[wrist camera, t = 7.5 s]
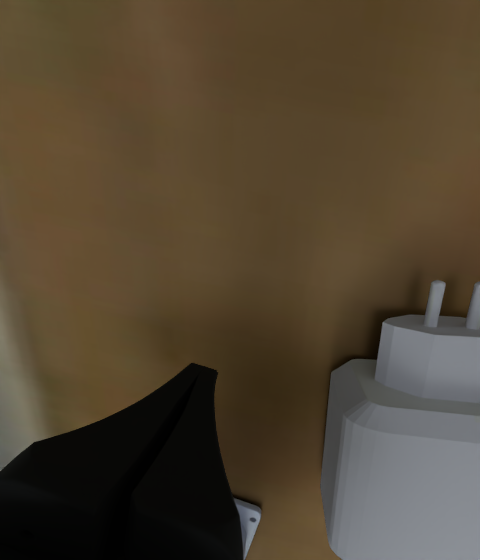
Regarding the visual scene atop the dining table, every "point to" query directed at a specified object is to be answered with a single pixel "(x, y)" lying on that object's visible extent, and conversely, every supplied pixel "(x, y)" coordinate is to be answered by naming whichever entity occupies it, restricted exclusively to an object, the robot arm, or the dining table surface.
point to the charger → (407, 442)
